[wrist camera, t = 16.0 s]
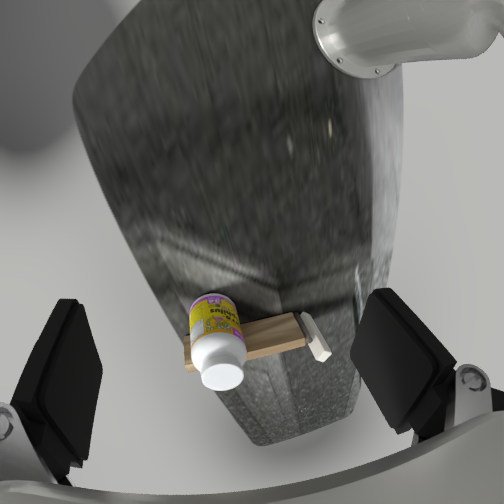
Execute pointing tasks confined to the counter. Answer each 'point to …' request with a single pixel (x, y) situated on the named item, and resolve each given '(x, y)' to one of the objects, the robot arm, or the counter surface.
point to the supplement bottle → (217, 342)
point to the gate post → (316, 339)
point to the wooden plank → (265, 337)
